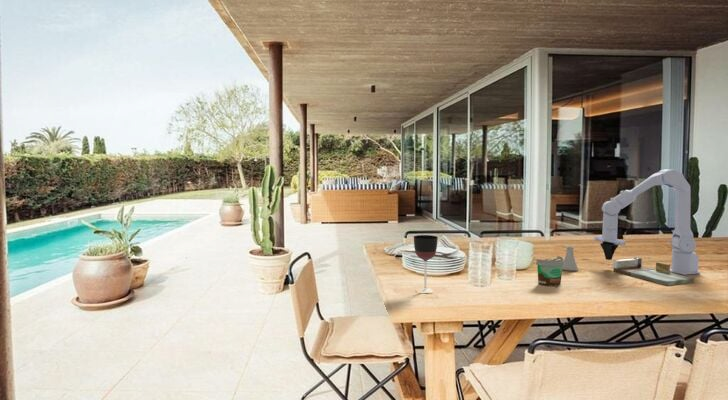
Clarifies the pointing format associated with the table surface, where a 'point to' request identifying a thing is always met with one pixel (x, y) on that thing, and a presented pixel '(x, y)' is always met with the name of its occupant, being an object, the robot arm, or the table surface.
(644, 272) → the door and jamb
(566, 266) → the flask
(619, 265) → the lock bar
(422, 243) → the wineglass
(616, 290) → the table surface
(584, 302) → the table surface
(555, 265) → the food container
